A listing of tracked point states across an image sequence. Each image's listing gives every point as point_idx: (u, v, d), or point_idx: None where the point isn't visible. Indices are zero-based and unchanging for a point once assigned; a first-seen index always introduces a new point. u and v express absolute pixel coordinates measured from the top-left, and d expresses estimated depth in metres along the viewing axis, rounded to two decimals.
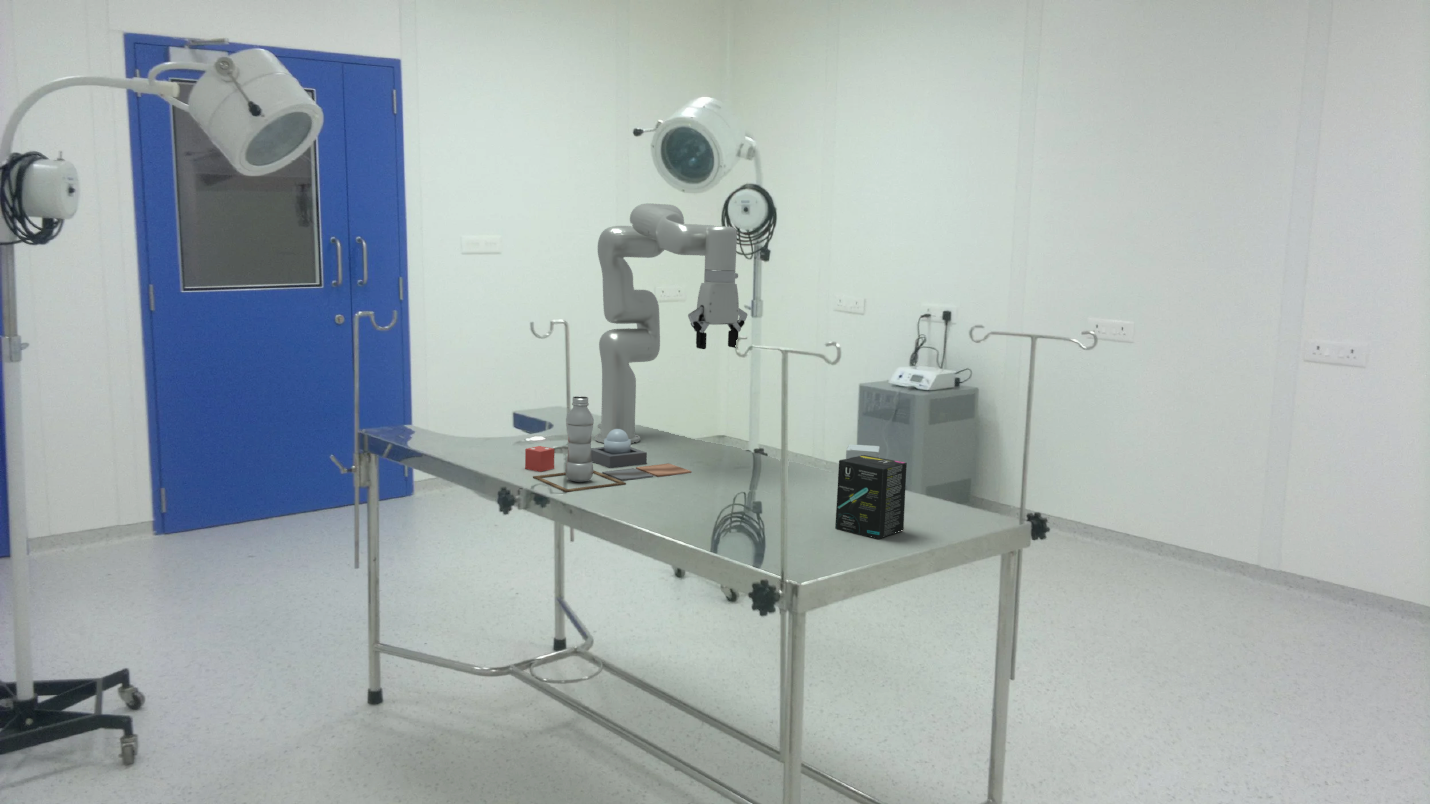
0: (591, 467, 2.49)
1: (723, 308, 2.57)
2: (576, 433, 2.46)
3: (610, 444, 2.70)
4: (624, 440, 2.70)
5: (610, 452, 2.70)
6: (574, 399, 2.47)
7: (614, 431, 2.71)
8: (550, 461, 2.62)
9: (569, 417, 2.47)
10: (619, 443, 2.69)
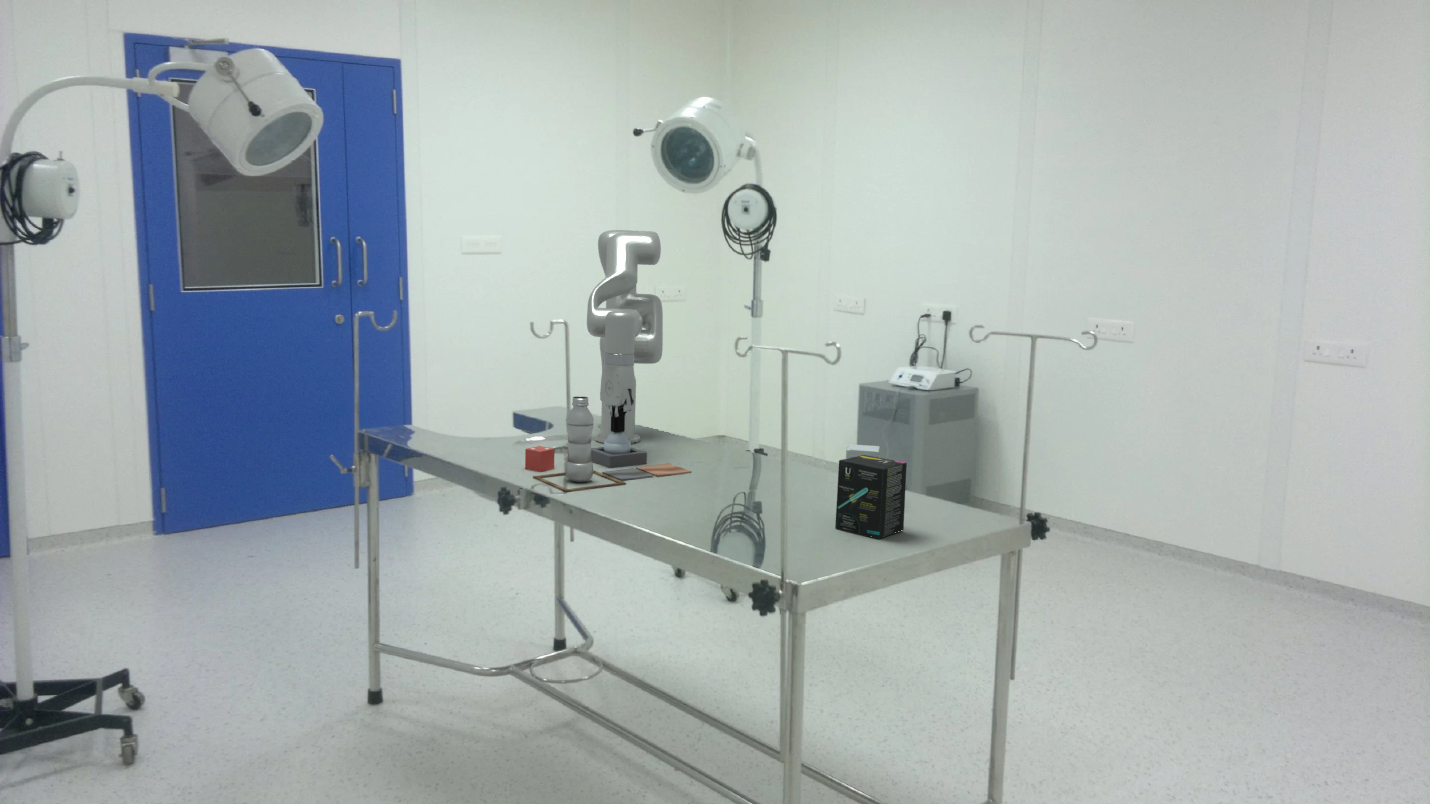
0: (591, 467, 2.49)
1: None
2: (576, 433, 2.46)
3: (610, 446, 2.70)
4: (624, 442, 2.71)
5: None
6: (574, 399, 2.47)
7: (614, 433, 2.71)
8: (550, 461, 2.62)
9: (569, 417, 2.47)
10: (619, 445, 2.69)
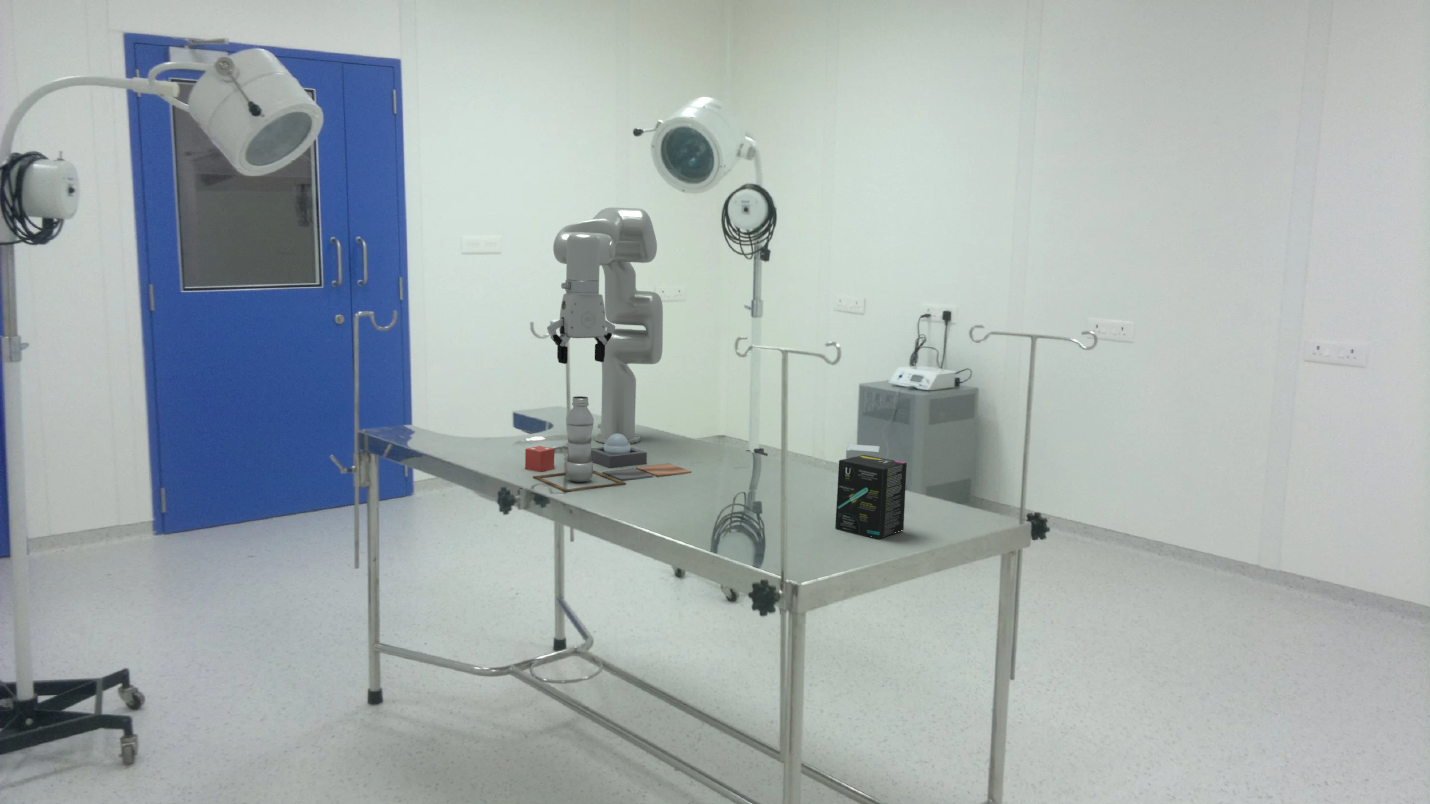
0: (591, 467, 2.49)
1: None
2: (576, 433, 2.46)
3: (610, 449, 2.70)
4: (624, 445, 2.71)
5: None
6: (574, 399, 2.47)
7: (614, 436, 2.71)
8: (550, 461, 2.62)
9: (569, 417, 2.47)
10: (619, 448, 2.69)
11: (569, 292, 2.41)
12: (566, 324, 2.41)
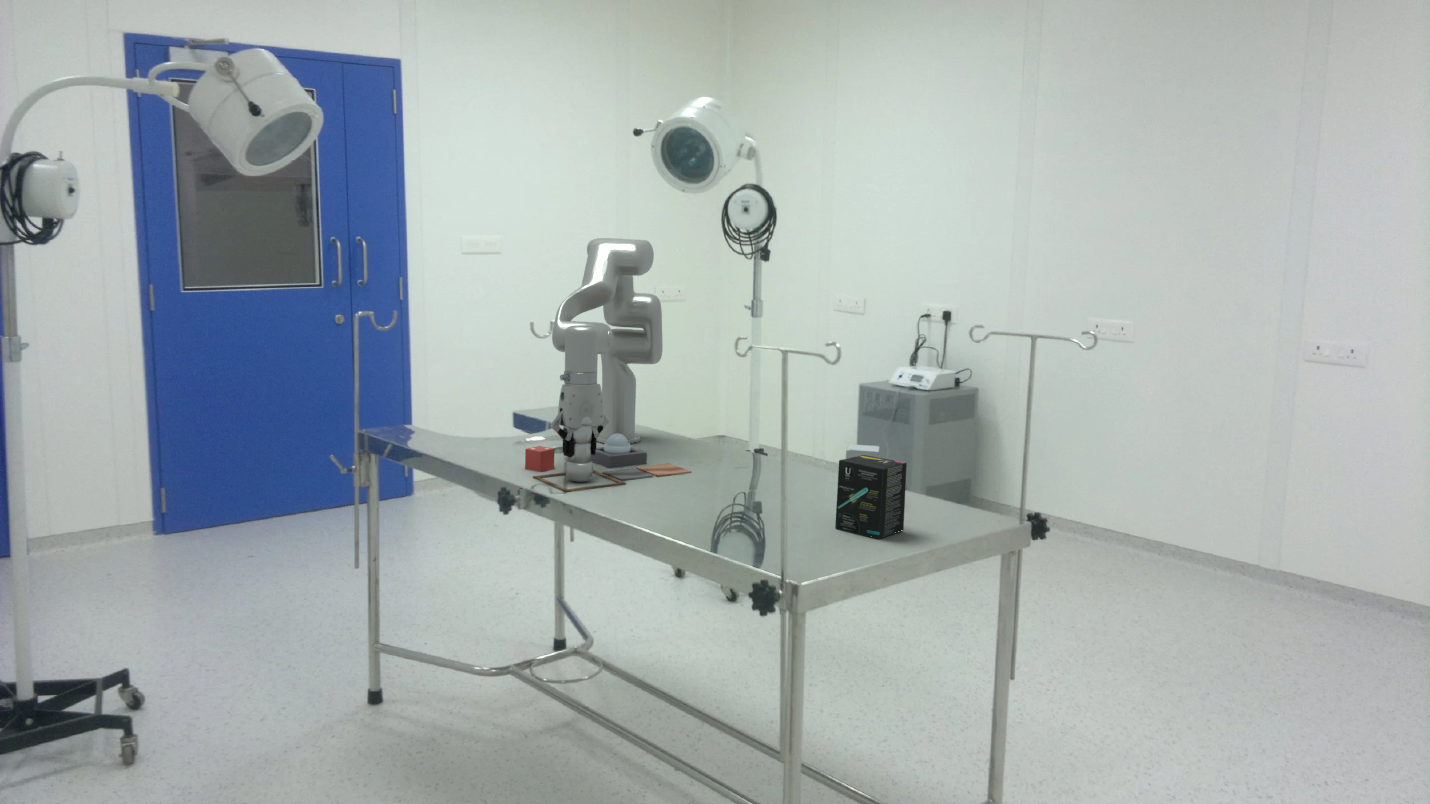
0: (591, 467, 2.49)
1: None
2: (576, 433, 2.46)
3: (610, 449, 2.70)
4: (624, 445, 2.71)
5: None
6: None
7: (614, 436, 2.71)
8: (550, 461, 2.62)
9: None
10: (619, 448, 2.69)
11: (567, 383, 2.45)
12: (565, 415, 2.44)
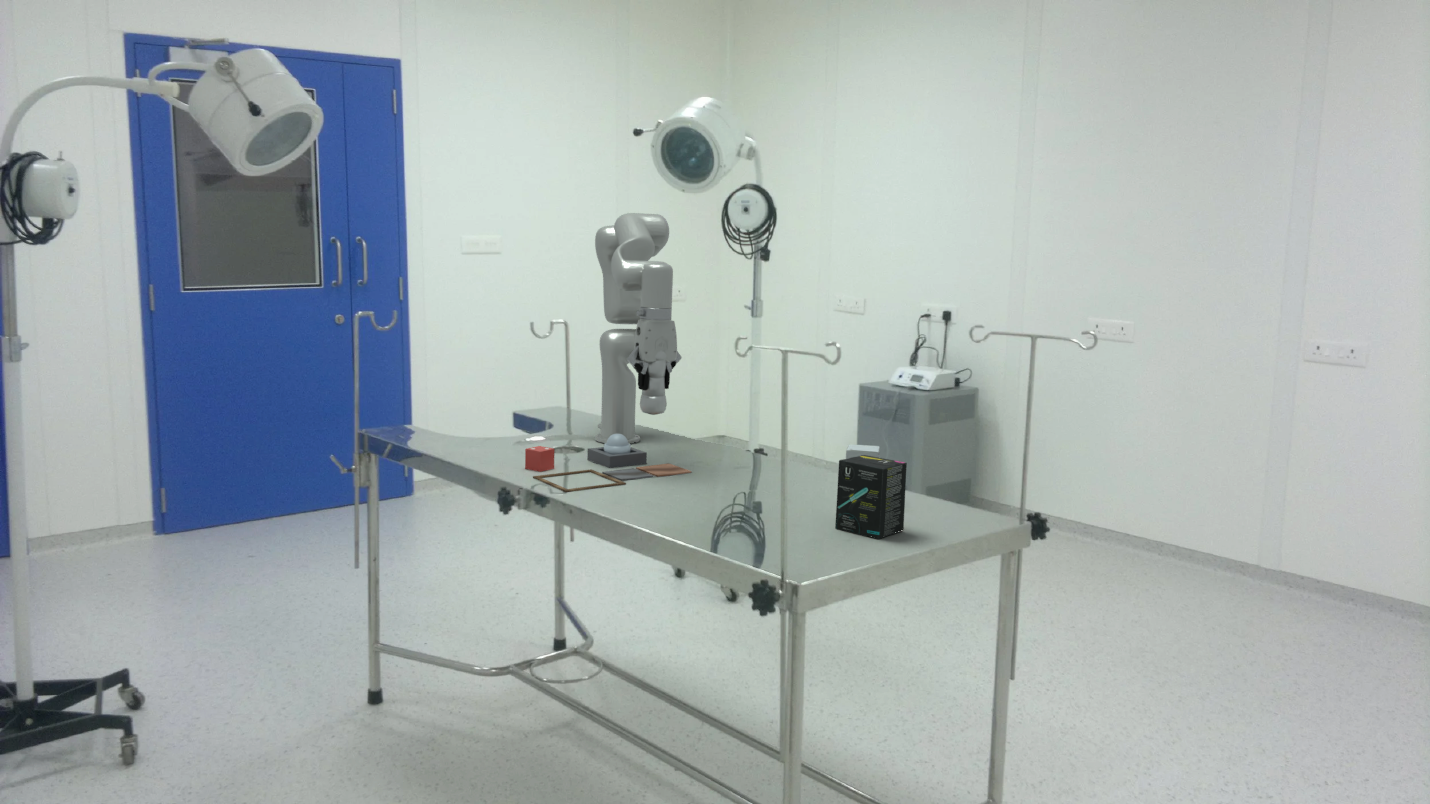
0: (665, 400, 2.59)
1: None
2: (651, 367, 2.56)
3: (610, 449, 2.70)
4: (624, 445, 2.71)
5: None
6: None
7: (614, 436, 2.71)
8: (550, 461, 2.62)
9: None
10: (619, 448, 2.69)
11: (644, 319, 2.55)
12: (641, 349, 2.54)
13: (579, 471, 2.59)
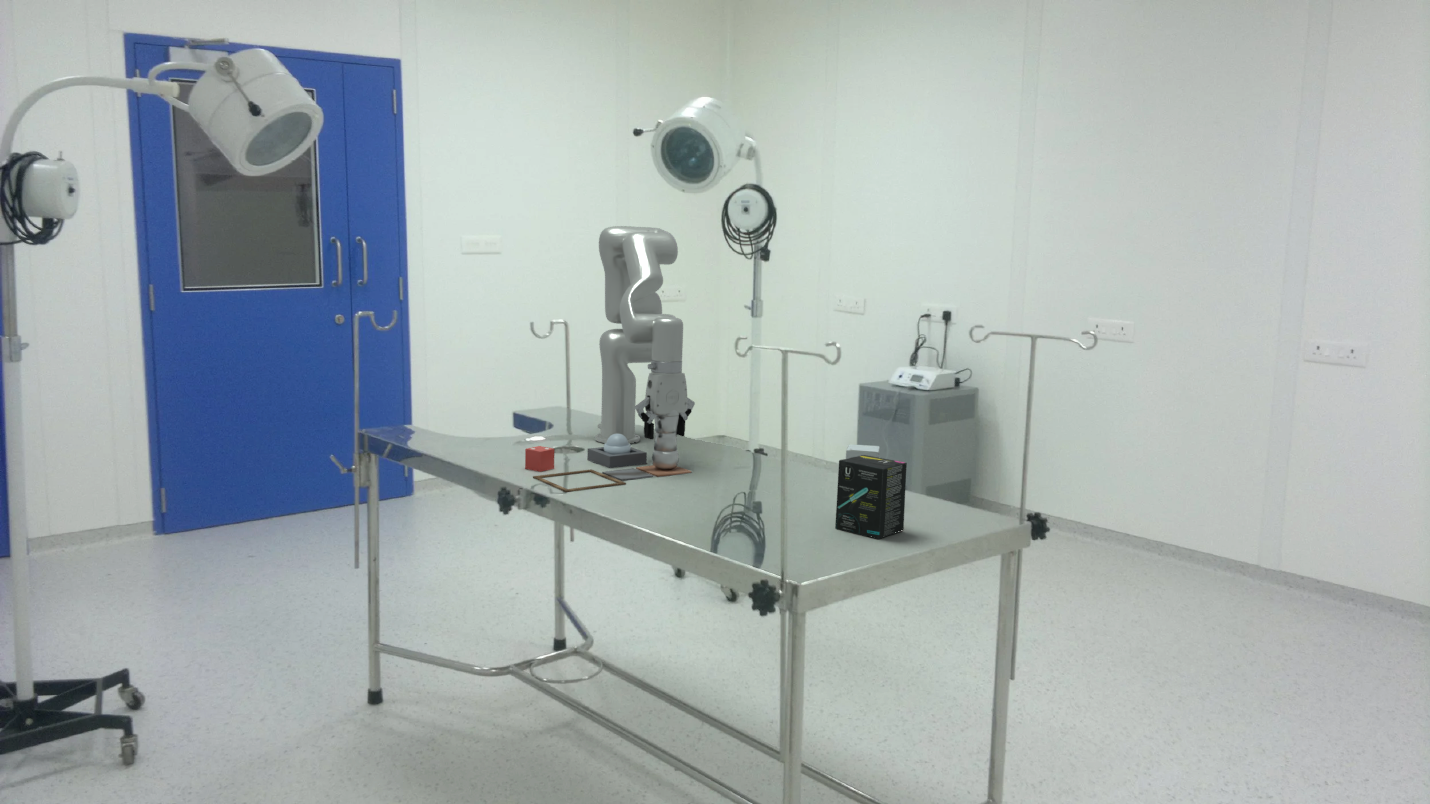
0: (677, 455, 2.64)
1: None
2: (664, 423, 2.61)
3: (610, 449, 2.70)
4: (624, 445, 2.71)
5: None
6: None
7: (614, 436, 2.71)
8: (550, 461, 2.62)
9: None
10: (619, 448, 2.69)
11: (655, 372, 2.59)
12: (652, 402, 2.58)
13: (579, 471, 2.59)
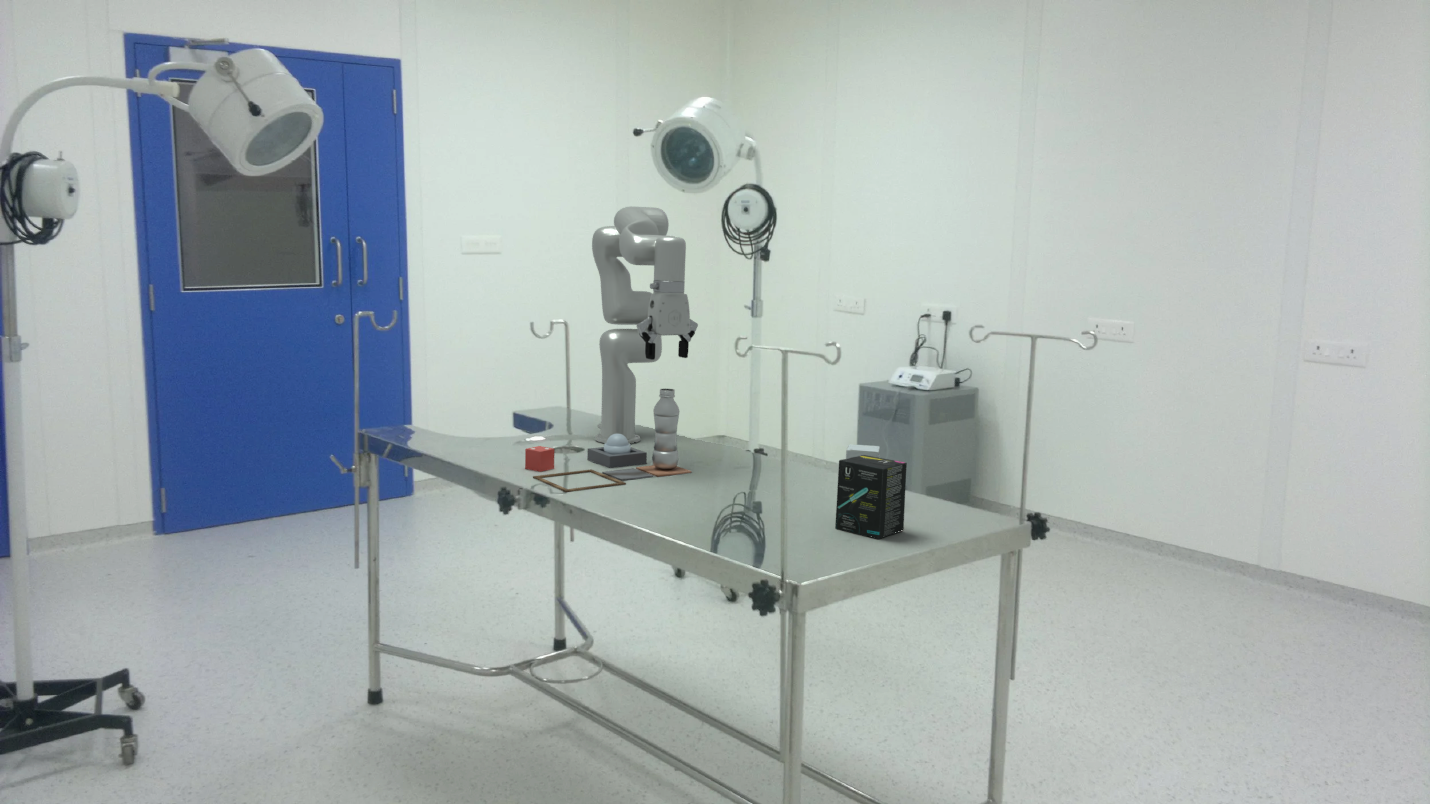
0: (677, 455, 2.64)
1: None
2: (664, 423, 2.61)
3: (610, 449, 2.70)
4: (624, 445, 2.71)
5: None
6: (662, 391, 2.61)
7: (614, 436, 2.71)
8: (550, 461, 2.62)
9: (657, 408, 2.61)
10: (619, 448, 2.69)
11: (657, 292, 2.56)
12: (654, 322, 2.55)
13: (579, 471, 2.59)
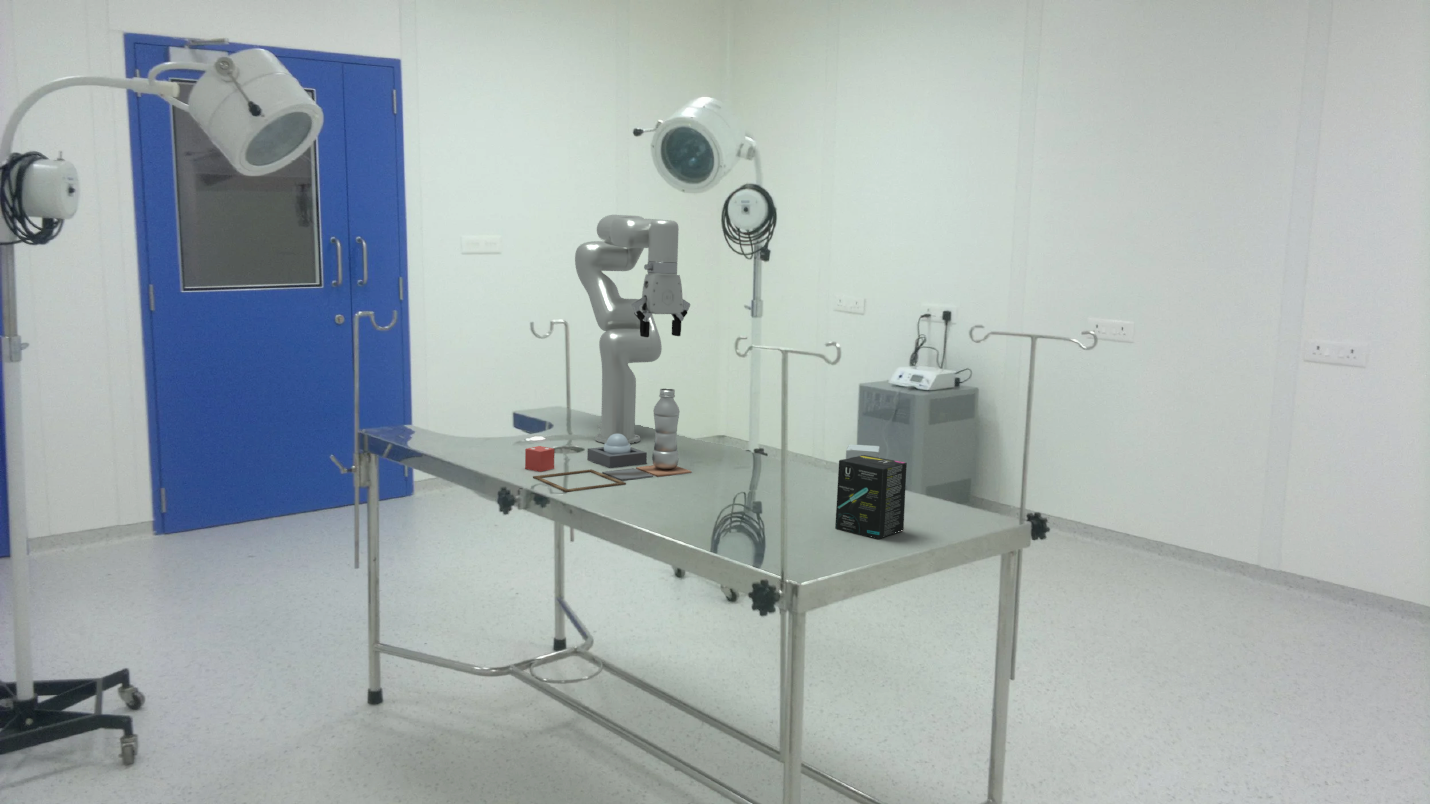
0: (677, 455, 2.64)
1: None
2: (664, 423, 2.61)
3: (610, 449, 2.70)
4: (624, 445, 2.71)
5: None
6: (662, 391, 2.61)
7: (614, 436, 2.71)
8: (550, 461, 2.62)
9: (657, 408, 2.61)
10: (619, 448, 2.69)
11: (651, 273, 2.68)
12: (648, 301, 2.67)
13: (579, 471, 2.59)
